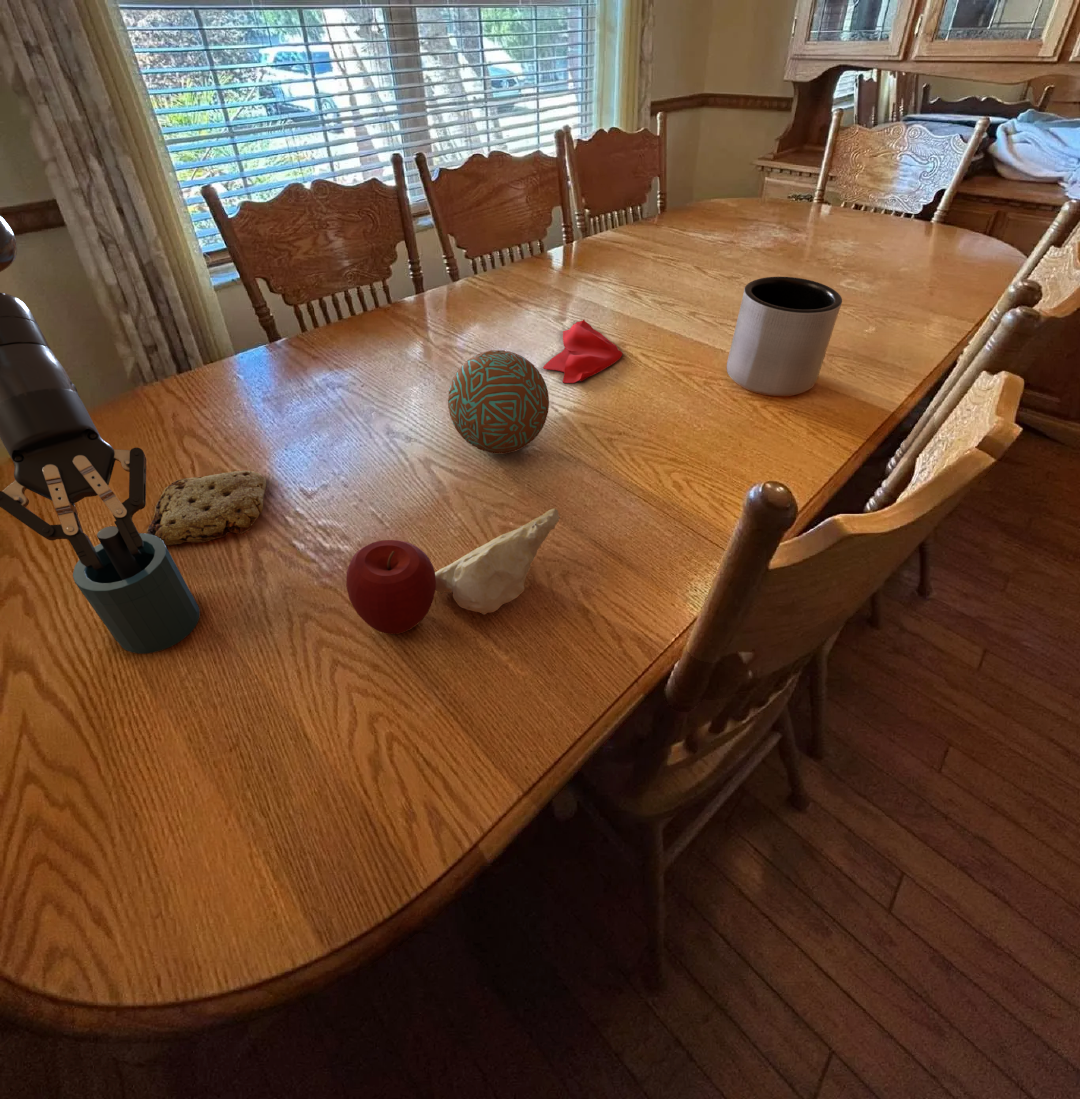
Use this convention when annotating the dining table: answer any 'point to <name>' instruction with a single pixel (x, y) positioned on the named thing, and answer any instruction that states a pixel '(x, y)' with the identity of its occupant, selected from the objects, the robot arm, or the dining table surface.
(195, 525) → the pastry
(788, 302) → the planter
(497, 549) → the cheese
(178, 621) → the crock
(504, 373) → the decorative sphere
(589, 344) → the cloth
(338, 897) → the dining table surface
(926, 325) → the dining table surface
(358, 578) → the apple
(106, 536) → the t-shaped mushroom stamp
